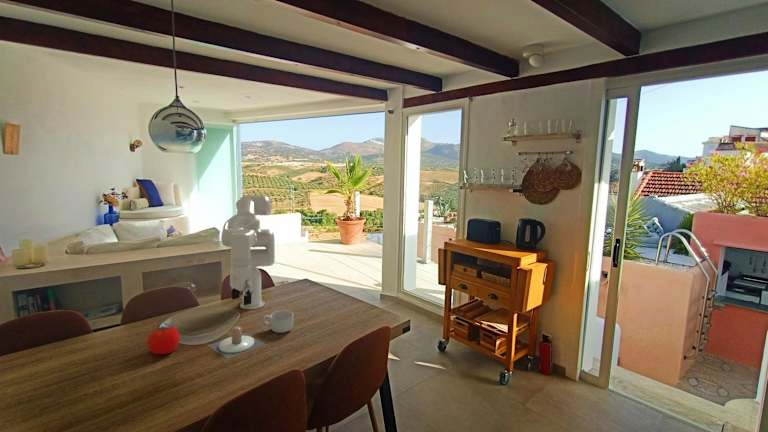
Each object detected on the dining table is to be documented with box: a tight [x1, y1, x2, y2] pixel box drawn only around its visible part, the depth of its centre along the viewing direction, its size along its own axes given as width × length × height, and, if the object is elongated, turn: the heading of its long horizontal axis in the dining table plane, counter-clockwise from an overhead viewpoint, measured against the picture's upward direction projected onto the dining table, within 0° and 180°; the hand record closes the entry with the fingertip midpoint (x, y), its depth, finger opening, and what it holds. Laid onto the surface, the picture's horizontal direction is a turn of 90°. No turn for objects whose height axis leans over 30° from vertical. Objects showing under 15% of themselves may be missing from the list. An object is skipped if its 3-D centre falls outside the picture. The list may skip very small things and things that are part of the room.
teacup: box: [262, 309, 295, 334], centre depth 172 cm, size 14×11×8 cm
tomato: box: [146, 325, 180, 355], centre depth 149 cm, size 12×12×10 cm
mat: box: [207, 332, 266, 360], centre depth 156 cm, size 17×17×1 cm
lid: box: [219, 325, 254, 353], centre depth 155 cm, size 14×14×8 cm
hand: (241, 301), depth 155 cm, fingers open, 9 cm apart
